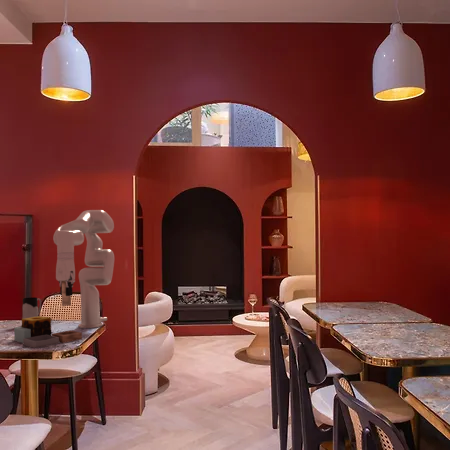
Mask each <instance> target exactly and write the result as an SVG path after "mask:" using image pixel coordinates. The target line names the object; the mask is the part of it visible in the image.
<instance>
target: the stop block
mask: <svg viewBox="0 0 450 450" xmlns="http://www.w3.org/2000/svg"><path fill="white" fill-rule="evenodd" d="M13 330H14V331H13V332H14V335H13V337H14V341H15V342H17V343H22V344H24V342H23V339H24V338H30V337H31V329H27V328H23V327H22V326H19V327H14V329H13Z"/></svg>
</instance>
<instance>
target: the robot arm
mask: <svg viewBox="0 0 450 450" xmlns="http://www.w3.org/2000/svg"><path fill="white" fill-rule="evenodd" d="M114 222H115V221H114V220H113V218H112V217H111V215H109V214H108V212H106V210H105V211H104V210H103V209H89V210H88V209H87V210H84V211H82V212H81V213H79V216H77V218H75V219H74V220H72V221H69V222H67V223H64V224H61V225H60V226H59V227H58V228H57V229H55V232H54V233H53V244H55V245H56V248H57V249H56V251H57V252H56V253H57V260H56V265H55V279H56V281H58V284H59V291H60V292H59V293H60V296H62V281H66V296H71V297H72V296H73V287H74V283H75V282H76V268H75V267H76V266H75V265H76V264H75V246H80V245H83V243H84V241H85V239H86V248H85V254H84V264H85V266H87V267H84V268H82V269H80V270H79V272H78V280H79V285H80V319H81V321H80V322H81V323H78V326H77V327H78V328H79V329H80V328H81V329H94V328H100V327H102V326H104V325H103V322H105V321H108V317H107V316H104V317H102V316H100V292H99V290H98V288H97V287H96V286H108V285H110V284H111V282H112V280H113V274H114V267H115V254H114V253H115V252H114V251H113V250H112V249H108V248H107V249H106V248H104V249H103V246H104V245H103V243H104V242H103V240H102V238H101V237H100V236H99V235H98V234H108V233H109V234H111V233H112V232H113V230H114V229H115V224H114ZM69 279H70V280H69ZM68 280H69V281H68ZM68 282H69V284H68Z"/></svg>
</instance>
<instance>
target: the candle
mask: <svg viewBox="0 0 450 450" xmlns="http://www.w3.org/2000/svg"><path fill="white" fill-rule="evenodd" d="M21 327H23V328H27V329H31V337H36V336H41V335H51V336H52V334H53V332H52V318H51V317H50V316H41V315H40V316H39V315H38V316H37V317H31V318H25V319H23V318H21Z"/></svg>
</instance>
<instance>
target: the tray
mask: <svg viewBox="0 0 450 450" xmlns="http://www.w3.org/2000/svg"><path fill="white" fill-rule="evenodd" d="M23 342H24V343H23V346H26V347H29V348H33V349H39V348H44V347H51V346H53V345H54V346H55V345H59V344H60V342H59V337H55V336H52V334H51V335H41V336H36V337H30V338H24V339H23Z"/></svg>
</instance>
